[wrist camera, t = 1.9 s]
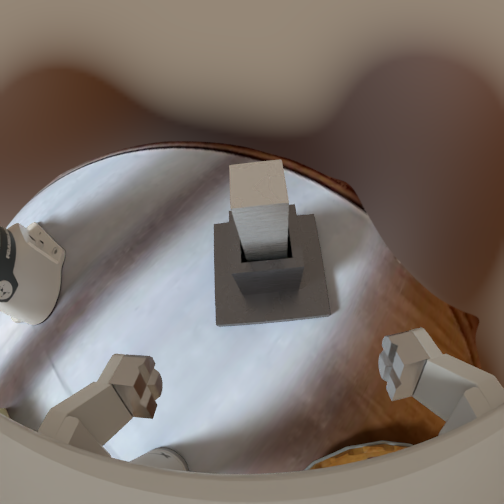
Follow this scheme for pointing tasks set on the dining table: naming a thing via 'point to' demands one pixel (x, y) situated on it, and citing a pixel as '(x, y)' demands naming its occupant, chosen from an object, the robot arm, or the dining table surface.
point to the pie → (357, 453)
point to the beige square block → (260, 209)
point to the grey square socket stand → (269, 277)
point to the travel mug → (162, 459)
